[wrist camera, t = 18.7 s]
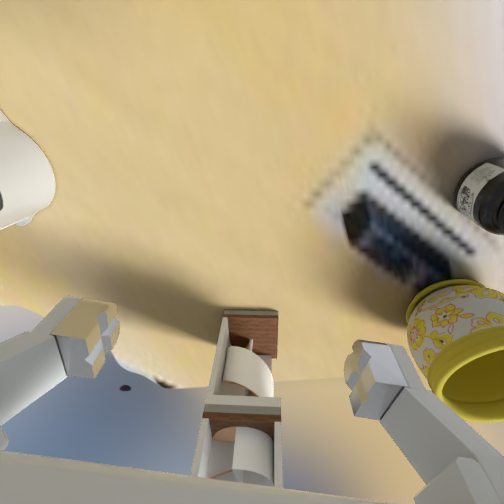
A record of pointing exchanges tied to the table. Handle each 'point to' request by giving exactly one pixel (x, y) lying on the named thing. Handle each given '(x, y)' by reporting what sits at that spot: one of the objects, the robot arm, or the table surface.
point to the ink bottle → (483, 195)
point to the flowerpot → (461, 346)
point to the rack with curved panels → (242, 405)
